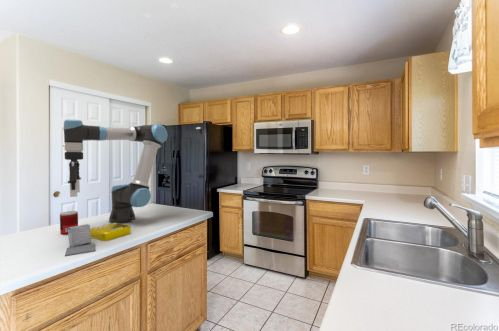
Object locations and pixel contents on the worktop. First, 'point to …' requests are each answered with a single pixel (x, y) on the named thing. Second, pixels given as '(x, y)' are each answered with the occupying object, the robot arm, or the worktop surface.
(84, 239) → the medicine box
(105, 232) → the element tile
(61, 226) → the canned food
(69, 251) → the mat
